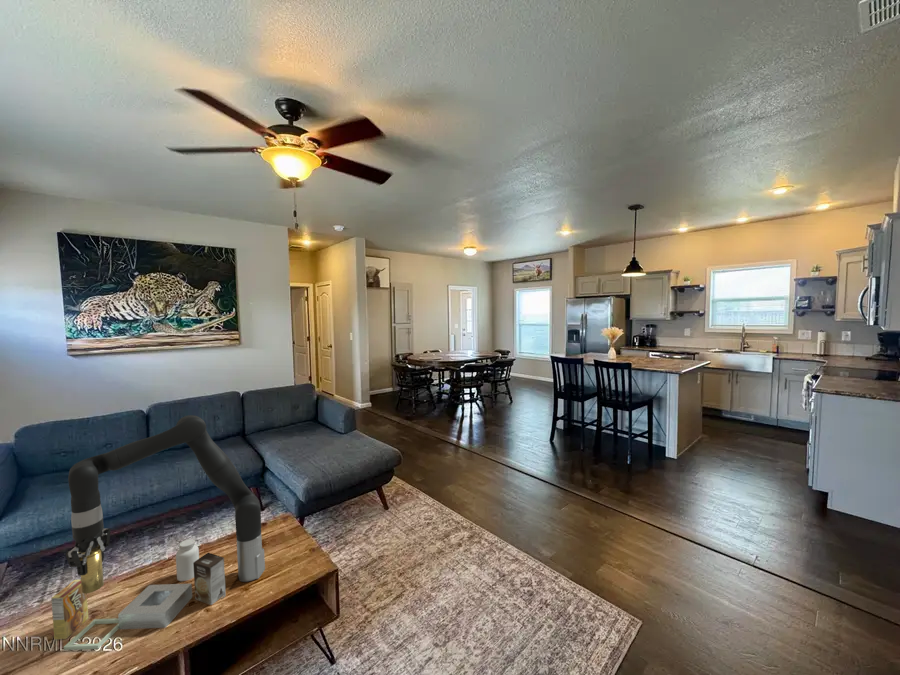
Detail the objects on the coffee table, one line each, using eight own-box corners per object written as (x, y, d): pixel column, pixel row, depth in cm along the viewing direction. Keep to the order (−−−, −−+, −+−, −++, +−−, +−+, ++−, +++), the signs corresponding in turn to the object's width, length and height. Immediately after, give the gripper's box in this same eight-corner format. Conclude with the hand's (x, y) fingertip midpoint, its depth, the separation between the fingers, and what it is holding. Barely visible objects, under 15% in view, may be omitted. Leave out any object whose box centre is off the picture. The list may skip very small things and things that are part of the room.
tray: (126, 623, 133) (126, 618, 133) (98, 651, 122) (97, 645, 122) (95, 624, 133) (94, 619, 133) (64, 652, 122) (63, 646, 122)
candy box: (77, 619, 135) (73, 579, 134) (89, 618, 136) (86, 578, 135) (53, 640, 126) (49, 598, 125) (67, 639, 127) (63, 597, 126)
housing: (192, 599, 144) (191, 583, 144) (166, 630, 130) (165, 612, 130) (150, 600, 144) (149, 584, 143) (119, 631, 130) (118, 614, 129)
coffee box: (194, 602, 143) (191, 562, 142) (209, 590, 149) (207, 552, 148) (211, 607, 140) (209, 567, 139) (226, 595, 146) (224, 556, 145)
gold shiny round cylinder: (108, 581, 129) (105, 547, 128) (93, 593, 124) (90, 557, 123) (92, 582, 129) (89, 547, 128) (77, 593, 123) (74, 557, 123)
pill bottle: (204, 570, 160) (202, 537, 159) (189, 584, 152) (187, 549, 151) (187, 569, 161) (185, 536, 160) (172, 582, 153) (169, 548, 152)
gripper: (78, 532, 118) (82, 583, 119) (117, 509, 132) (120, 554, 133) (54, 533, 117) (58, 584, 118) (95, 509, 132) (99, 555, 133)
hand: (91, 568), depth 126 cm, fingers closed on gold shiny round cylinder, 5 cm apart
